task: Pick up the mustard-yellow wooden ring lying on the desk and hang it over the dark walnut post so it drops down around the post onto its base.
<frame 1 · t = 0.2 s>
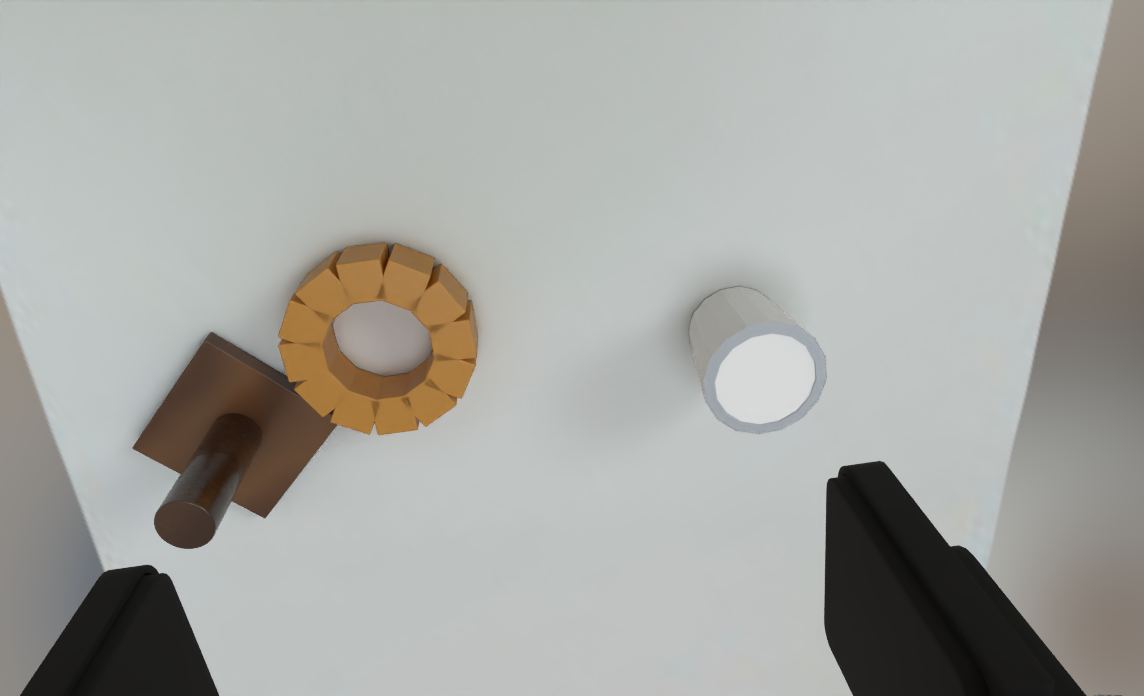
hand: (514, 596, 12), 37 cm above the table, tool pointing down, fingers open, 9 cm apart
grey cylinder: (732, 327, 51), on the table
post: (242, 424, 51), on the table
ring: (385, 330, 49), on the table
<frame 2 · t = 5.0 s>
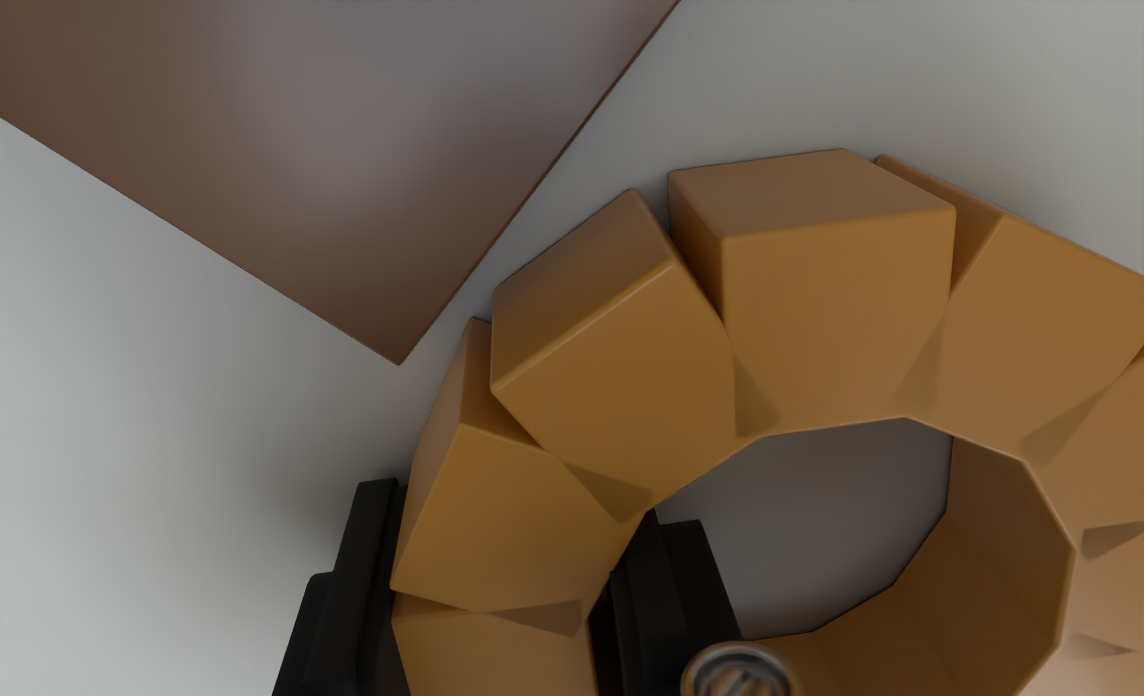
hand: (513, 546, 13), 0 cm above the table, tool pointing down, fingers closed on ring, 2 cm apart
ring: (763, 496, 13), on the table, touching gripper
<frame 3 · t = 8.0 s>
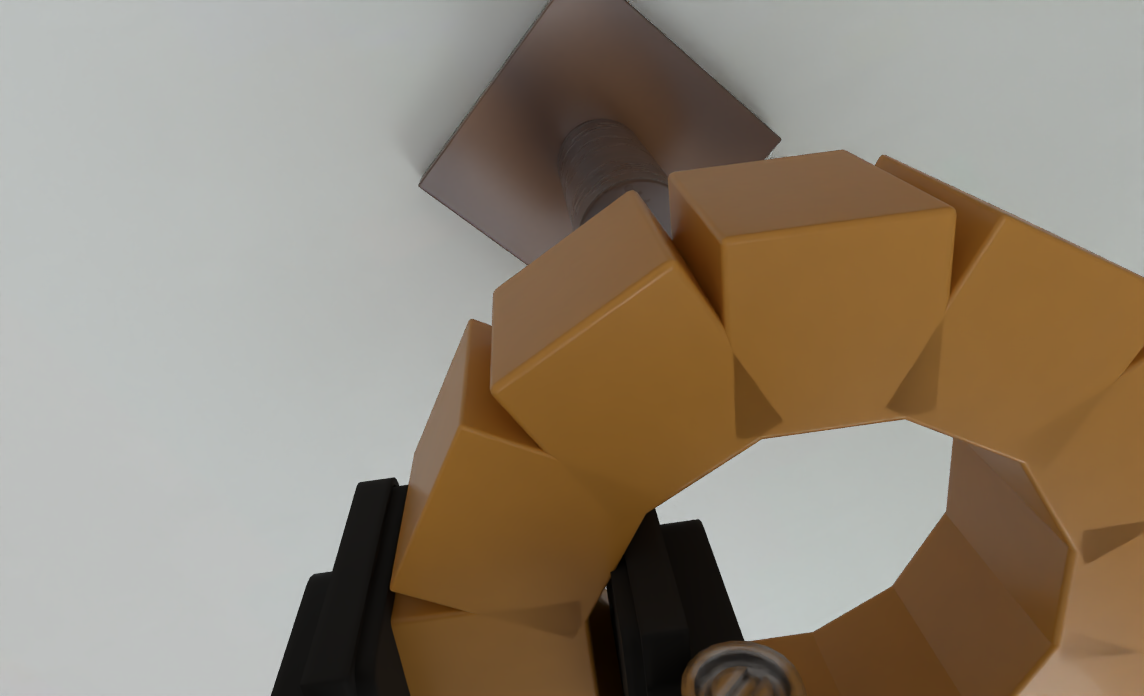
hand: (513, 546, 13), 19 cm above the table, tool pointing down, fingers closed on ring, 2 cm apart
post: (597, 155, 29), on the table
ring: (762, 496, 13), point 19 cm above the table, touching gripper
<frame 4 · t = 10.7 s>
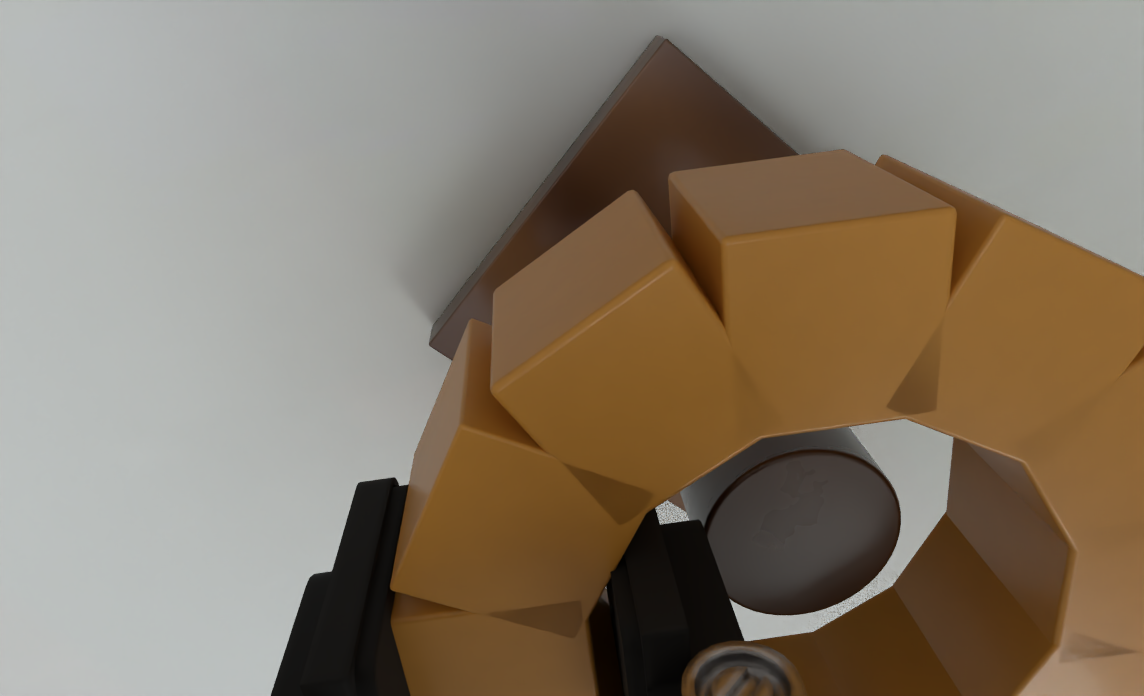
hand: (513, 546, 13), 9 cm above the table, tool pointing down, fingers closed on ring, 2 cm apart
post: (674, 293, 21), on the table
ring: (763, 496, 13), point 9 cm above the table, touching gripper
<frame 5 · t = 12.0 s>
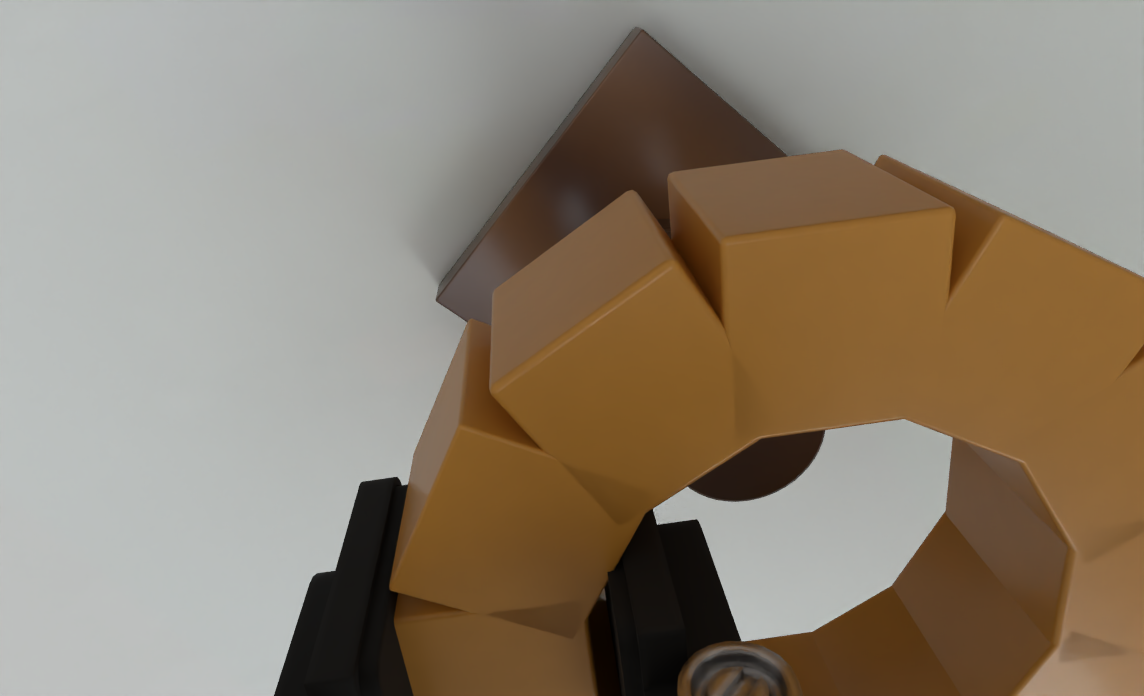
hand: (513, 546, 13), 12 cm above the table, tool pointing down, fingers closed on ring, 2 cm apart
post: (653, 256, 24), on the table
ring: (762, 496, 13), point 12 cm above the table, touching gripper
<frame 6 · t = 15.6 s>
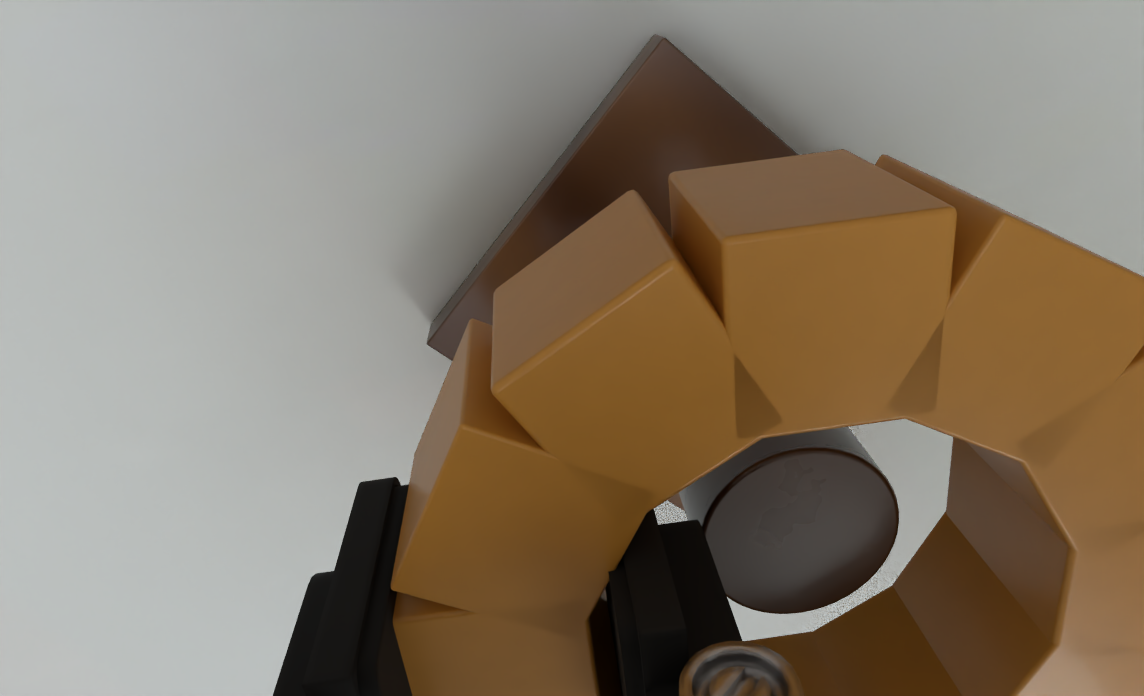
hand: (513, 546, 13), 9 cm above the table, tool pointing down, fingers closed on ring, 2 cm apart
post: (672, 292, 21), on the table
ring: (763, 496, 13), point 9 cm above the table, touching gripper
when the fingers open (12 cm above the table, at t = 19.0 s): ring drops 11 cm, resting on post.
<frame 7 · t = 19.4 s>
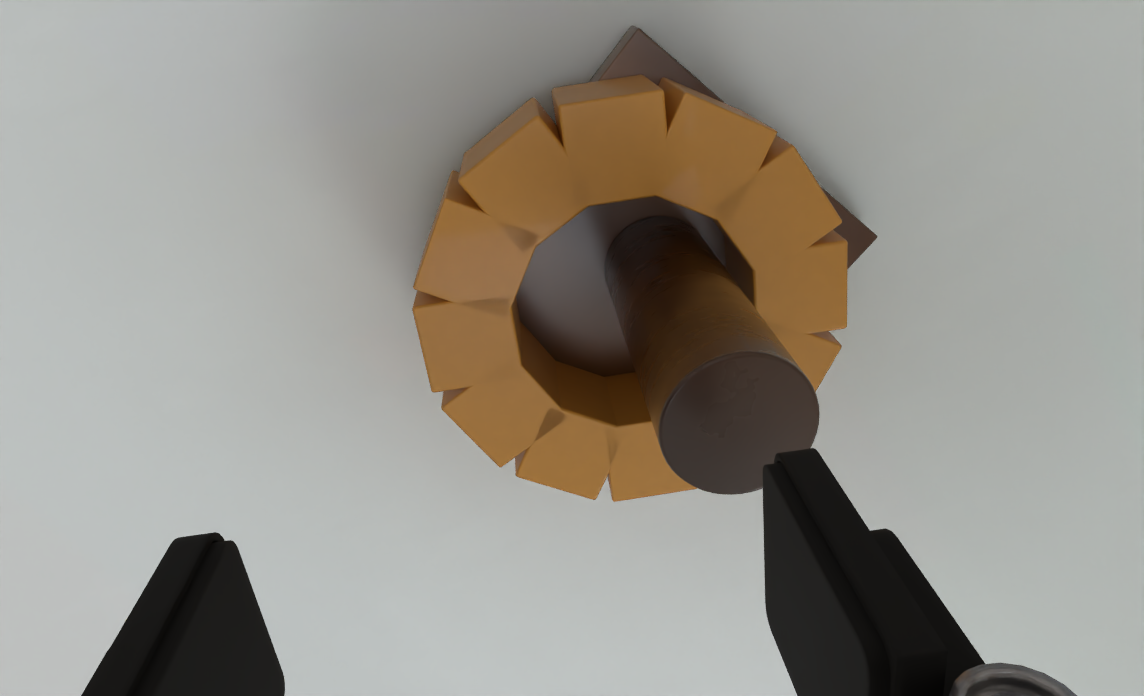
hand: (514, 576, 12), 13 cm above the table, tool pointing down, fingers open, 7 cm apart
post: (650, 254, 24), on the table
ring: (620, 278, 23), point 1 cm above the table, touching post
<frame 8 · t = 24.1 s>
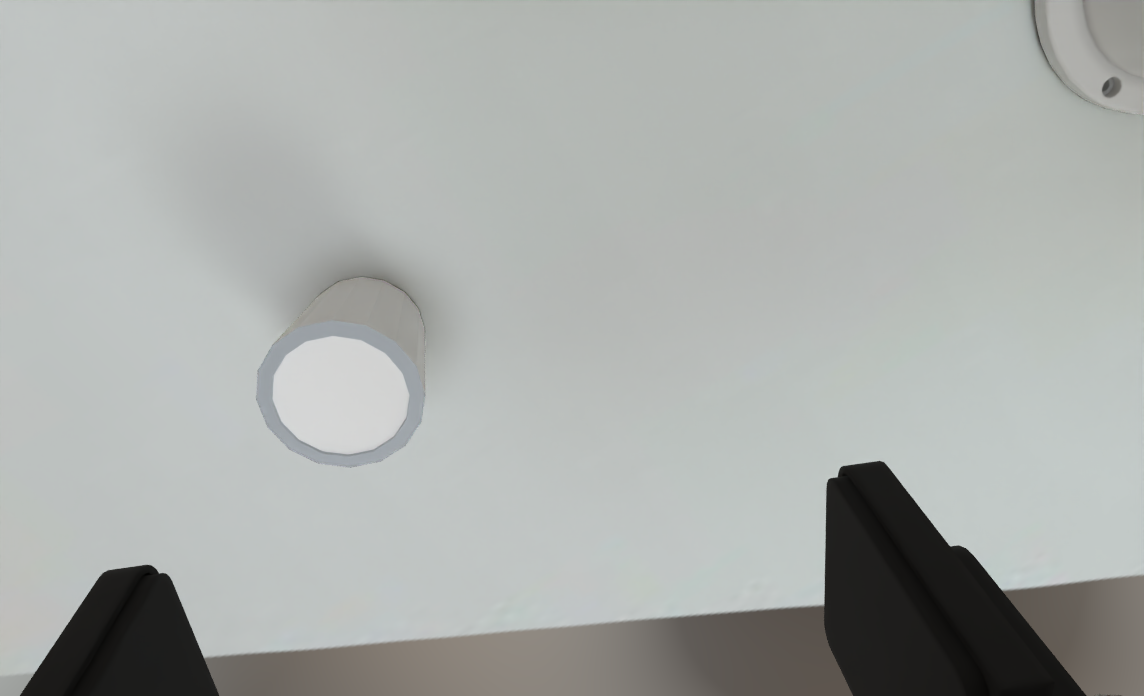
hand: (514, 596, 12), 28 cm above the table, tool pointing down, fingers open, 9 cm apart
grey cylinder: (367, 329, 40), on the table
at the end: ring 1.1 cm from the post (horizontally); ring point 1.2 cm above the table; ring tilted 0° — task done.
